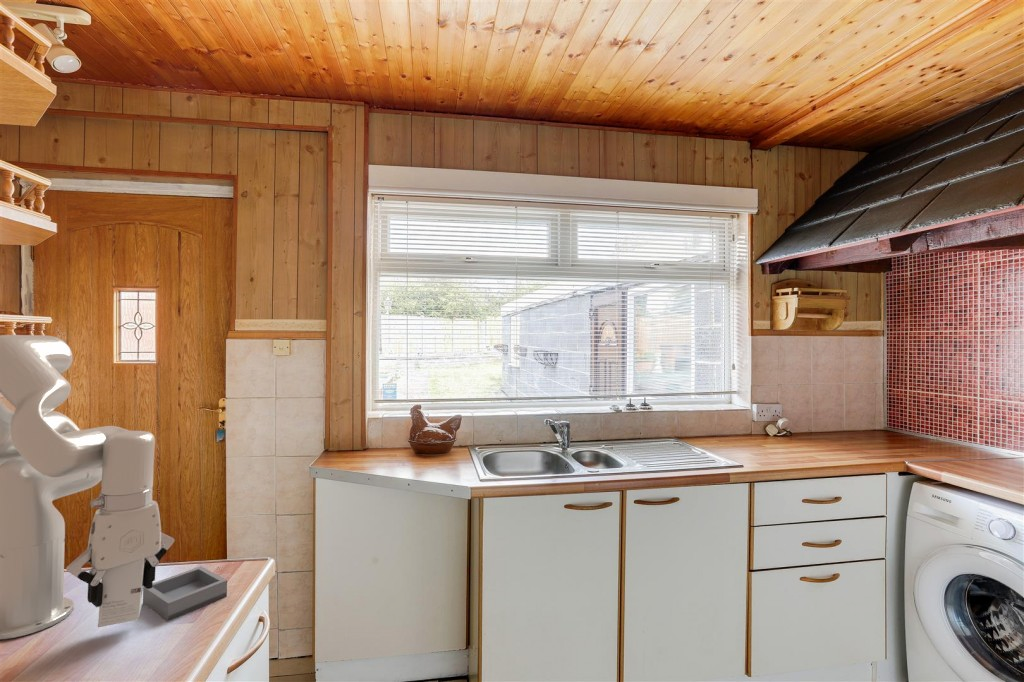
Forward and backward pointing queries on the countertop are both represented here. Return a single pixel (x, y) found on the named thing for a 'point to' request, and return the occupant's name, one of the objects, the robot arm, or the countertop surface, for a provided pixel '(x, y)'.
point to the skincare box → (122, 594)
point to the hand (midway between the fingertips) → (122, 594)
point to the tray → (184, 593)
